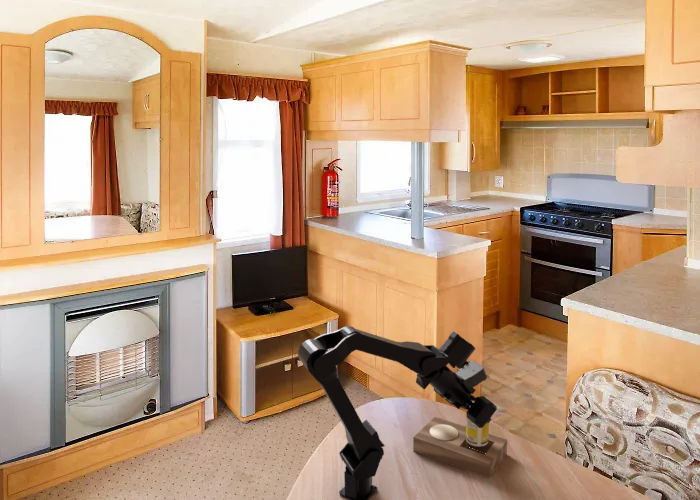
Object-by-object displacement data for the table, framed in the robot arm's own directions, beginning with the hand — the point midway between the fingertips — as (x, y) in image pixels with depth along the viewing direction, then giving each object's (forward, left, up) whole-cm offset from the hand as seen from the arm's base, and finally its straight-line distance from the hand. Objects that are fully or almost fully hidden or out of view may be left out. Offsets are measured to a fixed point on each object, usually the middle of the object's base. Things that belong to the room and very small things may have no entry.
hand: (482, 415), depth 130 cm
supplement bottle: (-1, +1, -7) cm, 7 cm away
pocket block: (-1, +5, -11) cm, 13 cm away
